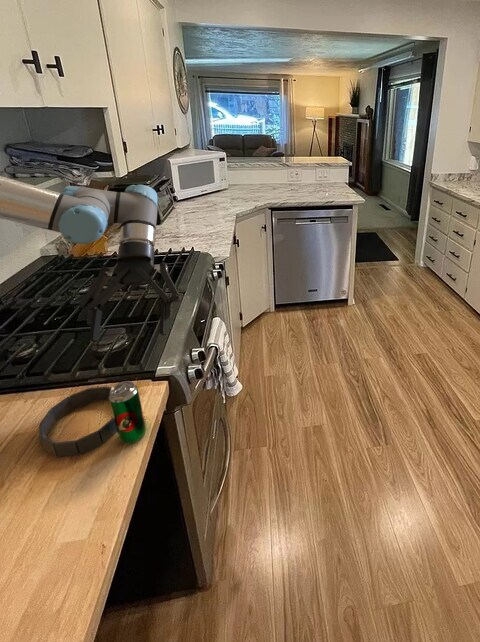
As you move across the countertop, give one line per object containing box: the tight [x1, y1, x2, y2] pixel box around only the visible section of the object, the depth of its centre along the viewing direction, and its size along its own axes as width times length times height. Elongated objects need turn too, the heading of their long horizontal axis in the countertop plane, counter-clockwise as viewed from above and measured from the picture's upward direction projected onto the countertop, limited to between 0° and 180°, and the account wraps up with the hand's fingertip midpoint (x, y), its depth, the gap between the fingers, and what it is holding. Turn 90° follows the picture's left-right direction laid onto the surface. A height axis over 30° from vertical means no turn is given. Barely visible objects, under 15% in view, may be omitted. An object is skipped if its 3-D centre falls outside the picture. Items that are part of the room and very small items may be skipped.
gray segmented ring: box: [38, 386, 117, 459], centre depth 75 cm, size 15×15×4 cm
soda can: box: [108, 380, 148, 444], centre depth 71 cm, size 5×5×12 cm
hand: (128, 337), depth 76 cm, fingers open, 13 cm apart
